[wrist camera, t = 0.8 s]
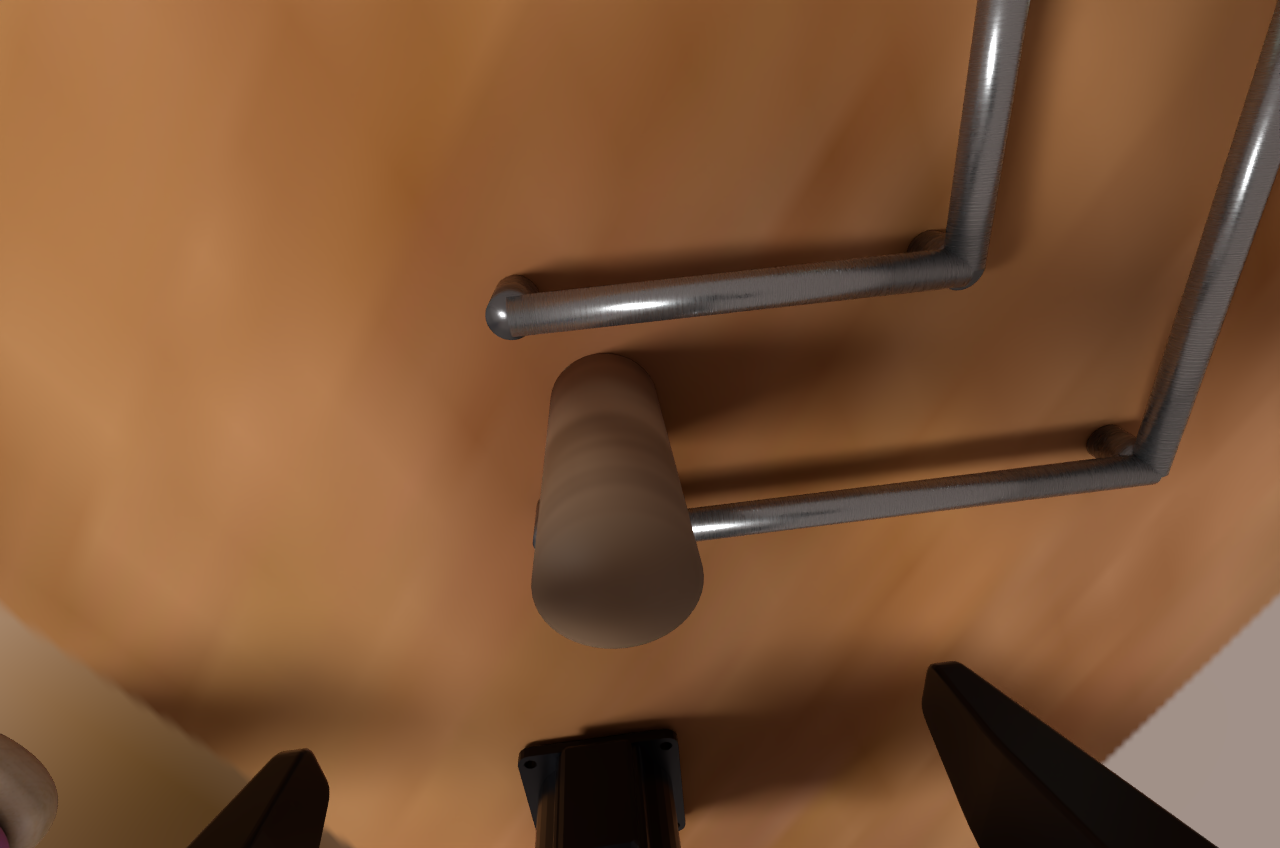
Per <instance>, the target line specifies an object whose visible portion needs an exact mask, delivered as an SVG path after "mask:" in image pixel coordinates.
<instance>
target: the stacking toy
mask: <svg viewBox="0 0 1280 848" xmlns="http://www.w3.org/2000/svg"><path fill="white" fill-rule="evenodd" d="M57 804H58V795H57V790H56V786H55V784H54V781H53V779H52V777H51V776H50V774H49V772H48V771H47V769H46V768H45V767H44V766H43V764H42V763H41V762H40V761H39V760H38V759H37V758H36V757H35V756H34V755H33V754H31V753H30V752H29V751H28V750H27V749H25V748H24V747H22V746H21V745H19V744H18V743H16V742H15V741H13V740H12V739H10V738H8V737H6V736H4V735H2V734H0V848H34V847H35V846H36V845H37V844H38V843H39V842H40V841H41V840H42V838H43V837H44V836H45V835H46V833H47V832H48V830H49V829H50V827H51V825H52V823H53V821H54V819H55V816H56V812H57V807H58V805H57Z"/></svg>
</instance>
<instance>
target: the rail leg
mask: <svg viewBox="0 0 1280 848" xmlns="http://www.w3.org/2000/svg"><path fill="white" fill-rule="evenodd" d="M945 235H946V234H945V233H942V232H939V231H936V230H929V231H925V232H923V233H921V234H919V235H918V236H917V237H916V238H914V240H913V241H912V242H911V244H910V245H909V248H908V250H907V253H900V254H890V255H881V256H872V257H863V258H854V259H845V260H835V261H826V262H817V263H808V264H799V265H790V266H780V267H771V268H762V269H753V270H744V271H735V272H725V273H716V274H707V275H698V276H689V277H680V278H670V279H661V280H652V281H643V282H634V283H624V284H615V285H606V286H597V287H588V288H579V289H569V290H560V291H551V292H542V293H538V290H537V288H536V286H535V285H534V284H533V283H532V282H531V281H530V280H529V279H527V278H525V277H523V276H519V275H512V276H508V277H506V278H504V279H502V280H501V281H500V282H499V283H498V285H497V287H496V289H495V291H494V293H493V295H492V297H491V299H490V301H489V304H488V306H487V308H486V321H487V324H488V326H489V328H490V329H491V331H492V332H493V333H495V334H496V335H497V336H499V337H501V338H503V339H507V340H516V339H520V338H522V337H524V336H527V335H536V334H545V333H554V332H563V331H572V330H581V329H590V328H599V327H608V326H617V325H626V324H635V323H644V322H653V321H662V320H671V319H680V318H689V317H698V316H707V315H716V314H725V313H733V312H742V311H751V310H760V309H769V308H778V307H787V306H796V305H805V304H814V303H823V302H832V301H841V300H850V299H859V298H868V297H877V296H886V295H895V294H904V293H913V292H922V291H931V290H940V289H952V290H963V289H966V288H968V287H970V286H972V285H973V284H974V283H975V282H977V280H978V279H979V278H980V277H981V275H982V274H983V272H984V269H983V270H980V271H973V270H972V269H971V268H970V267H969V266H968V265H967V264H966V263H965V262H964V261H963V260H962V259H960V258H959V257H958V256H957V255H955V254H954V253H953V252H951V251H949V250H947V249H944V242H945ZM985 266H986V265H985ZM1135 441H1136V437H1135V436H1133V435H1131V434H1130V433H1128V432H1126V431H1125V430H1123V429H1121V428H1119V427H1118V426H1115V425H1107V426H1104V427H1101V428H1099V429H1098V430H1096V431H1095V432H1094V433H1093V434H1092V435H1091V436H1090V438H1089V440H1088V442H1087V451H1088V452H1089V454H1091V455H1092V456H1094V457H1095V458H1096V459H1088V460H1080V461H1072V462H1064V463H1055V464H1047V465H1039V466H1031V467H1023V468H1015V469H1007V470H998V471H990V472H982V473H974V474H966V475H958V476H950V477H941V478H933V479H925V480H917V481H909V482H901V483H892V484H884V485H876V486H868V487H860V488H852V489H844V490H835V491H827V492H819V493H811V494H803V495H795V496H787V497H778V498H770V499H762V500H754V501H746V502H738V503H730V504H721V505H713V506H705V507H697V508H689V509H687V510H688V514H689V517H690V521H691V525H692V529H693V533H694V536H695V540H696V541H704V540H712V539H720V538H728V537H736V536H744V535H752V534H760V533H768V532H776V531H784V530H792V529H800V528H808V527H816V526H824V525H832V524H840V523H848V522H856V521H864V520H872V519H880V518H888V517H896V516H904V515H912V514H920V513H928V512H936V511H944V510H952V509H960V508H968V507H976V506H984V505H992V504H1001V503H1009V502H1017V501H1025V500H1033V499H1041V498H1049V497H1057V496H1065V495H1073V494H1081V493H1089V492H1097V491H1105V490H1113V489H1121V488H1129V487H1137V486H1145V485H1153V484H1156V483H1158V482H1159V481H1160V479H1161V476H1160V475H1159V474H1158V473H1157V472H1156V471H1155V470H1154V469H1153V468H1152V467H1150V466H1149V465H1148V464H1147V463H1145V462H1144V461H1143V460H1141V459H1140V458H1139V457H1137V456H1135V455H1133V454H1132V451H1133V448H1134V445H1135ZM539 505H540V499H539V501H538V503H537V508H536V517H535V527H534V536H533V546H534V548H535V543H536V534H537V524H538V515H539Z"/></svg>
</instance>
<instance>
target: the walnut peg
mask: <svg viewBox="0 0 1280 848" xmlns="http://www.w3.org/2000/svg"><path fill="white" fill-rule="evenodd" d="M703 581H704V574H703V567H702V563H701V559H700V555H699V551H698V548H697V544H696V540H695V536H694V533H693V529H692V525H691V521H690V517H689V514H688V510H687V506H686V502H685V499H684V495H683V491H682V487H681V484H680V480H679V476H678V472H677V468H676V465H675V461H674V457H673V453H672V450H671V446H670V442H669V438H668V434H667V431H666V427H665V423H664V419H663V416H662V412H661V408H660V404H659V401H658V397H657V393H656V389H655V386H654V384H653V382H652V380H651V378H650V376H649V375H648V373H647V372H646V371H645V370H644V369H643V368H642V367H641V366H640V365H638V364H637V363H635V362H634V361H632V360H630V359H628V358H626V357H623V356H620V355H615V354H607V353H603V354H594V355H589V356H586V357H583V358H581V359H579V360H577V361H575V362H573V363H572V364H570V365H569V366H568V367H567V368H566V369H565V370H564V371H563V372H562V373H561V374H560V376H559V377H558V378H557V380H556V382H555V384H554V387H553V390H552V394H551V400H550V410H549V420H548V429H547V439H546V448H545V458H544V467H543V477H542V486H541V496H540V505H539V515H538V524H537V534H536V543H535V553H534V562H533V572H532V585H531V589H532V596H533V600H534V603H535V606H536V608H537V610H538V612H539V614H540V615H541V616H542V618H543V619H544V621H545V622H546V623H547V624H548V625H549V626H550V627H551V628H553V629H554V630H555V631H556V632H558V633H559V634H561V635H563V636H564V637H566V638H568V639H570V640H572V641H574V642H577V643H580V644H583V645H587V646H592V647H597V648H610V649H617V648H628V647H634V646H639V645H642V644H646V643H649V642H651V641H654V640H657V639H659V638H661V637H663V636H665V635H666V634H668V633H670V632H671V631H673V630H674V629H675V628H677V627H678V626H679V625H680V624H682V623H683V622H684V621H685V620H686V619H687V617H688V616H689V615H690V614H691V612H692V611H693V610H694V608H695V606H696V605H697V603H698V601H699V598H700V596H701V593H702V588H703Z"/></svg>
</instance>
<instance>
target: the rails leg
mask: <svg viewBox="0 0 1280 848" xmlns="http://www.w3.org/2000/svg"><path fill="white" fill-rule="evenodd" d="M1029 5H1030V0H977V7H976V15H975V22H974V29H973V37H972V44H971V51H970V59H969V66H968V73H967V81H966V88H965V95H964V103H963V110H962V117H961V125H960V132H959V139H958V147H957V154H956V161H955V169H954V176H953V183H952V191H951V198H950V205H949V213H948V220H947V227H946V235H945V242H944V249H947V250H949V251H951V252H953V253H954V254H955V255H957V256H958V257H959V258H960V259H962V260H963V261H964V262H965V263H966V264H967V265H968V266H969V267H970V268H971V269H972V270H973V271H980V270H983V269H985V265H986V259H987V253H988V248H989V242H990V236H991V230H992V224H993V218H994V212H995V206H996V200H997V194H998V188H999V183H1000V177H1001V171H1002V165H1003V159H1004V153H1005V147H1006V141H1007V135H1008V129H1009V123H1010V118H1011V112H1012V106H1013V100H1014V94H1015V88H1016V82H1017V76H1018V70H1019V64H1020V58H1021V53H1022V47H1023V41H1024V35H1025V29H1026V23H1027V17H1028V11H1029ZM1279 166H1280V0H1278V1H1277V4H1276V7H1275V10H1274V14H1273V17H1272V20H1271V23H1270V26H1269V29H1268V32H1267V35H1266V38H1265V41H1264V45H1263V48H1262V51H1261V54H1260V57H1259V60H1258V63H1257V66H1256V69H1255V72H1254V76H1253V79H1252V82H1251V85H1250V88H1249V91H1248V94H1247V97H1246V100H1245V103H1244V107H1243V110H1242V113H1241V116H1240V119H1239V122H1238V125H1237V128H1236V131H1235V134H1234V138H1233V141H1232V144H1231V147H1230V150H1229V153H1228V156H1227V159H1226V162H1225V165H1224V169H1223V172H1222V175H1221V178H1220V181H1219V184H1218V187H1217V190H1216V193H1215V196H1214V200H1213V203H1212V206H1211V209H1210V212H1209V215H1208V218H1207V221H1206V224H1205V227H1204V231H1203V234H1202V237H1201V240H1200V243H1199V246H1198V249H1197V252H1196V255H1195V258H1194V262H1193V265H1192V268H1191V271H1190V274H1189V277H1188V280H1187V283H1186V286H1185V289H1184V293H1183V296H1182V299H1181V302H1180V305H1179V308H1178V311H1177V314H1176V317H1175V320H1174V324H1173V327H1172V330H1171V333H1170V336H1169V339H1168V342H1167V345H1166V348H1165V351H1164V355H1163V358H1162V361H1161V364H1160V367H1159V370H1158V373H1157V376H1156V379H1155V383H1154V386H1153V389H1152V392H1151V395H1150V398H1149V401H1148V404H1147V407H1146V410H1145V414H1144V417H1143V420H1142V423H1141V426H1140V429H1139V432H1138V435H1137V438H1136V441H1135V445H1134V448H1133V451H1132V454H1133V455H1135V456H1137V457H1139V458H1140V459H1141V460H1143V461H1144V462H1145V463H1147V464H1148V465H1149V466H1150V467H1152V468H1153V469H1154V470H1155V471H1156V472H1157V473H1158V474H1159V475H1160V476H1161V477H1164V476H1167V475H1168V474H1169V471H1170V468H1171V465H1172V463H1173V460H1174V457H1175V454H1176V452H1177V449H1178V446H1179V443H1180V441H1181V438H1182V435H1183V432H1184V429H1185V427H1186V424H1187V421H1188V418H1189V416H1190V413H1191V410H1192V407H1193V404H1194V402H1195V399H1196V396H1197V393H1198V391H1199V388H1200V385H1201V382H1202V380H1203V377H1204V374H1205V371H1206V368H1207V366H1208V363H1209V360H1210V357H1211V355H1212V352H1213V349H1214V346H1215V343H1216V341H1217V338H1218V335H1219V332H1220V330H1221V327H1222V324H1223V321H1224V318H1225V316H1226V313H1227V310H1228V307H1229V305H1230V302H1231V299H1232V296H1233V294H1234V291H1235V288H1236V285H1237V282H1238V280H1239V277H1240V274H1241V271H1242V269H1243V266H1244V263H1245V260H1246V257H1247V255H1248V252H1249V249H1250V246H1251V244H1252V241H1253V238H1254V235H1255V233H1256V230H1257V227H1258V224H1259V221H1260V219H1261V216H1262V213H1263V210H1264V208H1265V205H1266V202H1267V199H1268V196H1269V194H1270V191H1271V188H1272V185H1273V183H1274V180H1275V177H1276V174H1277V172H1278V169H1279Z"/></svg>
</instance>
